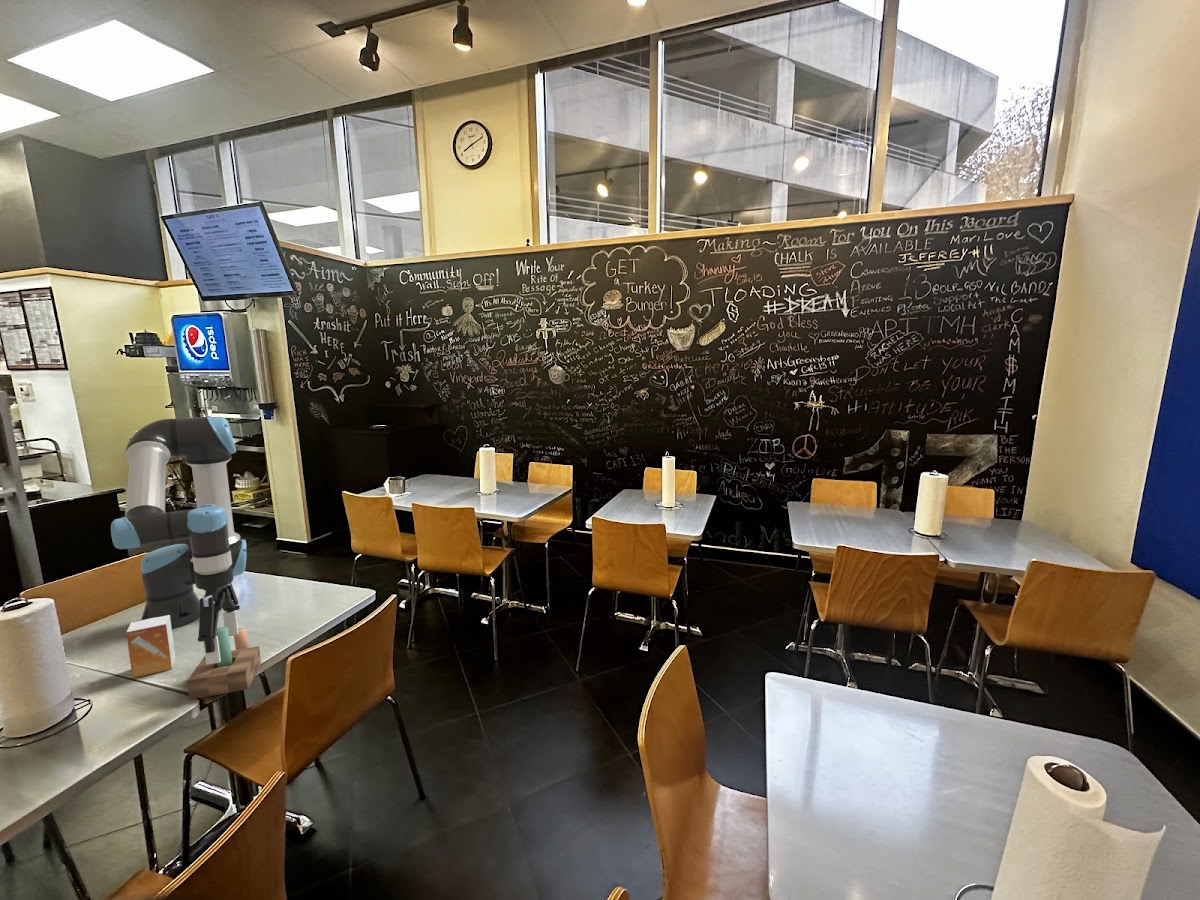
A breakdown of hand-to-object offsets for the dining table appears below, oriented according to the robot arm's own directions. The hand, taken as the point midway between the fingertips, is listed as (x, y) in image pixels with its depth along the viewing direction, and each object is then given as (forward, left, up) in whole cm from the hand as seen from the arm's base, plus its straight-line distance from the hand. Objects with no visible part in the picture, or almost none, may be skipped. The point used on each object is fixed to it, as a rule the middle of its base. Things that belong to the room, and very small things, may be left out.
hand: (223, 648), depth 129 cm
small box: (-13, -20, -9) cm, 25 cm away
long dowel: (0, 0, -9) cm, 9 cm away
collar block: (0, 0, -9) cm, 9 cm away
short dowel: (-13, 0, -9) cm, 16 cm away
